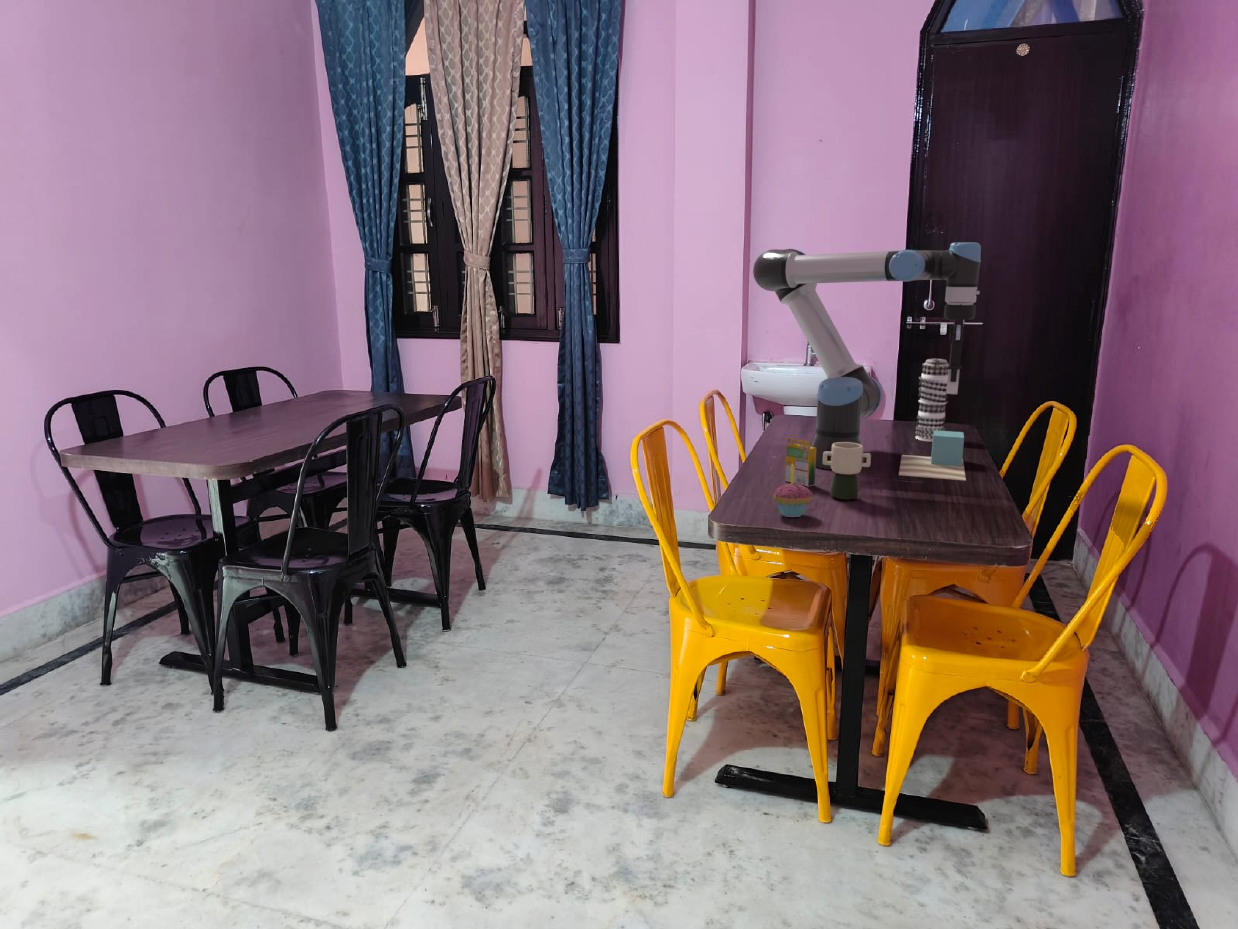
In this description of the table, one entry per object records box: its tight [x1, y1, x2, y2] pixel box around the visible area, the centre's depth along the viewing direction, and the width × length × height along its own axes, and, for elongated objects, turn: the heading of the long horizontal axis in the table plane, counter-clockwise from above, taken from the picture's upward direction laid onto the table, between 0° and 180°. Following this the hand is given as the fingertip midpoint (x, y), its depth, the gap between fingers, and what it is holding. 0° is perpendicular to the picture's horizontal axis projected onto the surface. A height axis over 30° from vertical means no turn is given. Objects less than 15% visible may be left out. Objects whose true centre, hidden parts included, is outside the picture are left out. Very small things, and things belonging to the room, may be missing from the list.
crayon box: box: [784, 437, 817, 487], centre depth 212 cm, size 7×3×12 cm, turn 41°
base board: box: [898, 454, 967, 481], centre depth 224 cm, size 24×16×2 cm, turn 160°
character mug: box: [823, 442, 872, 500], centre depth 199 cm, size 11×7×13 cm, turn 77°
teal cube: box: [930, 430, 965, 466], centre depth 228 cm, size 8×8×8 cm
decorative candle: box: [914, 358, 949, 443], centre depth 263 cm, size 9×9×25 cm
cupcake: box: [772, 461, 813, 516], centre depth 186 cm, size 9×8×12 cm
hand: (951, 393), depth 225 cm, fingers closed
